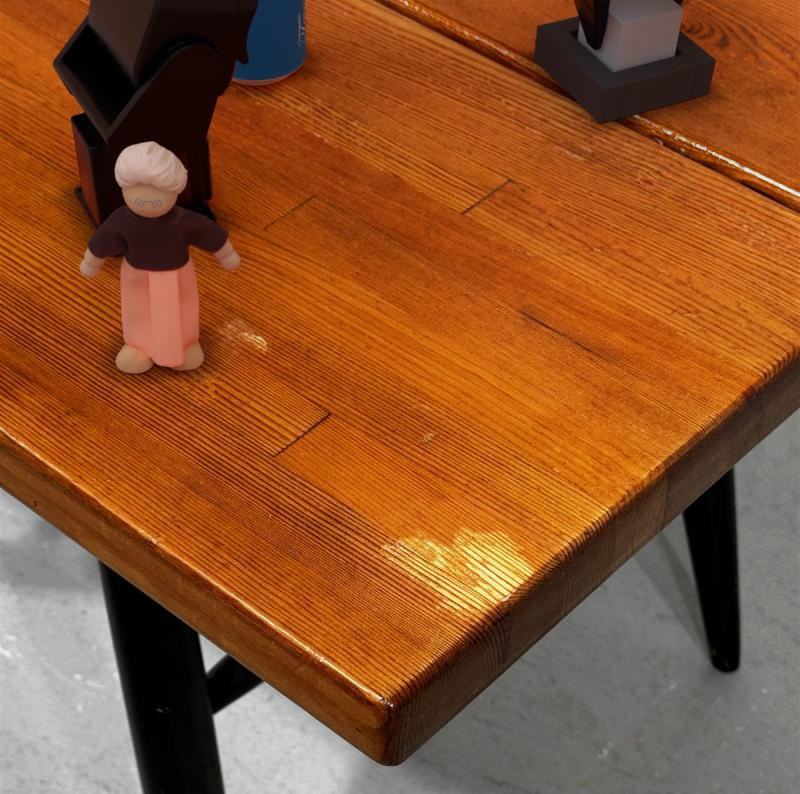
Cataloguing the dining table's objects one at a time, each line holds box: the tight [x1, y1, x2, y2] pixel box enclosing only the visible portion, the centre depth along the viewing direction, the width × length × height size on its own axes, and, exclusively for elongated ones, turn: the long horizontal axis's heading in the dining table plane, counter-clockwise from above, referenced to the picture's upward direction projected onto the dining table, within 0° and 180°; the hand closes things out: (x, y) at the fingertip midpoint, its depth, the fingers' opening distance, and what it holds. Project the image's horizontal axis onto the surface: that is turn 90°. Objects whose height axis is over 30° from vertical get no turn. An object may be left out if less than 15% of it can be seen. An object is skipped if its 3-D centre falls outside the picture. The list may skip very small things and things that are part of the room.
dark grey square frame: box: [533, 15, 717, 124], centre depth 94 cm, size 8×8×2 cm
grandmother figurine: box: [79, 142, 241, 375], centre depth 71 cm, size 8×4×13 cm, turn 106°
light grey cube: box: [578, 0, 684, 73], centre depth 92 cm, size 4×4×4 cm
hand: (625, 38), depth 93 cm, fingers closed on light grey cube, 4 cm apart
